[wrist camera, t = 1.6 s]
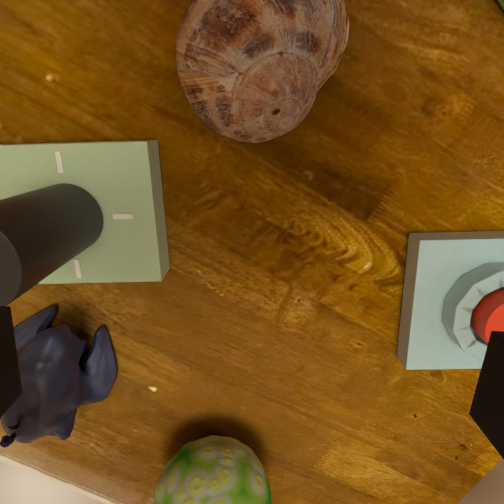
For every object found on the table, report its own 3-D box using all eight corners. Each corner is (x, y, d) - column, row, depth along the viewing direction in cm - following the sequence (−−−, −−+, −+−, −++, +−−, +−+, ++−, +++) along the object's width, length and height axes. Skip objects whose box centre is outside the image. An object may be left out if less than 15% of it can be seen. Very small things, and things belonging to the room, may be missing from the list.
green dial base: (157, 139, 29) (146, 141, 26) (170, 267, 32) (161, 282, 29) (-4, 144, 29) (-34, 146, 26) (24, 270, 32) (-1, 285, 29)
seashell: (356, 134, 27) (292, 146, 20) (248, 139, 32) (162, 151, 24) (358, -42, 24) (283, -114, 16) (238, -7, 29) (134, -50, 21)
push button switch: (564, 229, 30) (608, 243, 26) (536, 352, 34) (572, 381, 30) (408, 232, 30) (430, 247, 27) (396, 355, 34) (414, 383, 30)
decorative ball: (146, 446, 37) (108, 556, 28) (226, 392, 35) (214, 490, 26) (213, 507, 39) (199, 628, 30) (291, 459, 37) (303, 573, 28)
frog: (-7, 386, 35) (-77, 454, 28) (29, 275, 32) (-38, 319, 25) (95, 425, 36) (55, 501, 29) (141, 323, 33) (108, 379, 26)
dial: (98, 182, 26) (5, 214, 17) (108, 249, 28) (28, 315, 18) (28, 183, 27) (-105, 216, 17) (42, 250, 28) (-74, 317, 18)
